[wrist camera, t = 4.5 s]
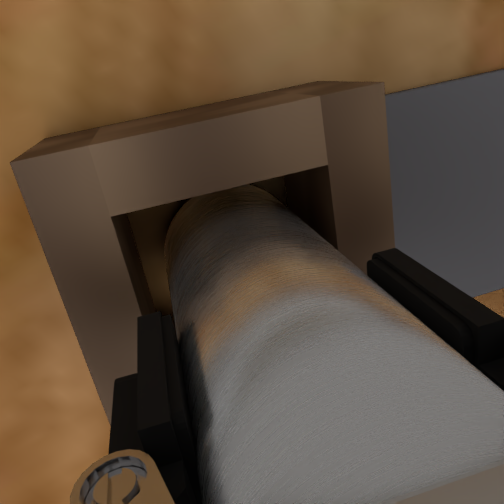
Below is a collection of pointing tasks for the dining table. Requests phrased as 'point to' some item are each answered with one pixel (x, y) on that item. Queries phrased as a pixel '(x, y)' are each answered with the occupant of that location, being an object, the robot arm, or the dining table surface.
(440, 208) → the rubber mat
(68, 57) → the dining table surface
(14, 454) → the dining table surface
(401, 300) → the robot arm
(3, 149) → the dining table surface
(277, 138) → the eye block
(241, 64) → the dining table surface
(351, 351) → the metal peg
